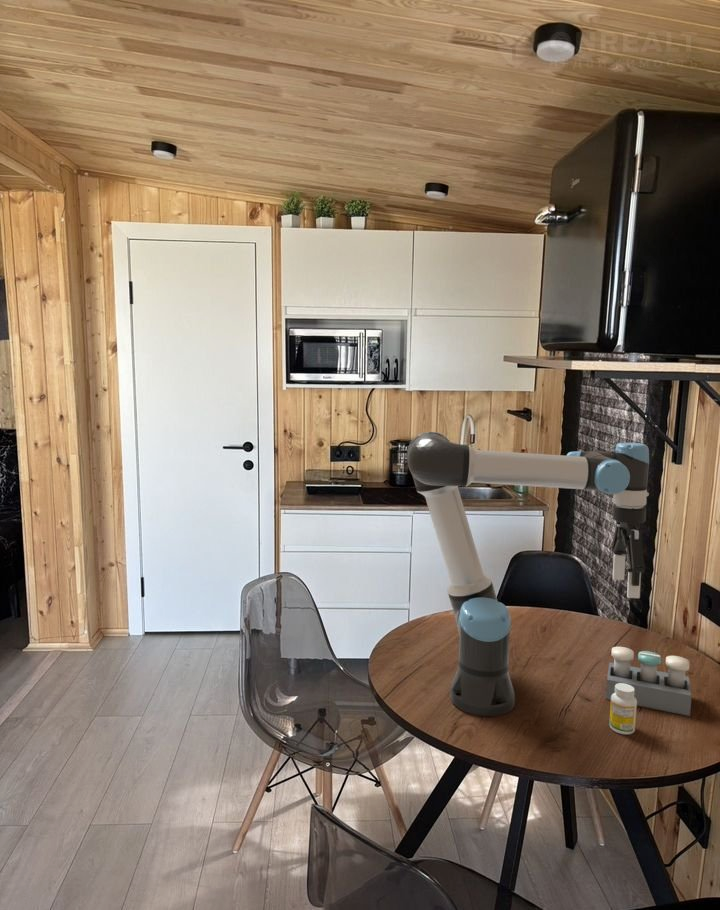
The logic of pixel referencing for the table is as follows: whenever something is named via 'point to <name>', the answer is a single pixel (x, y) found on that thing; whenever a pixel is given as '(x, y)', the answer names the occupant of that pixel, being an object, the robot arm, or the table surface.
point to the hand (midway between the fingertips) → (625, 588)
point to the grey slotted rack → (653, 691)
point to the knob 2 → (676, 671)
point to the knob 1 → (622, 661)
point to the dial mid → (649, 666)
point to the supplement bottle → (623, 709)
